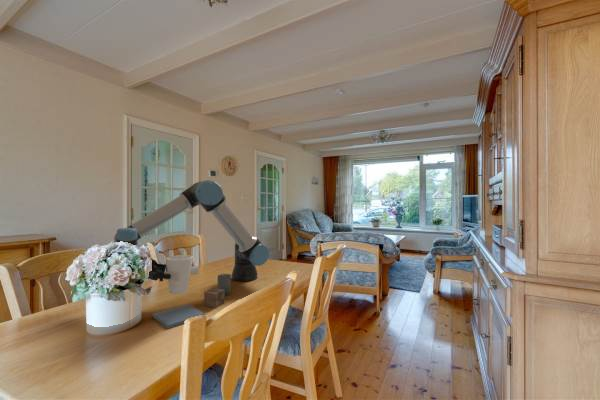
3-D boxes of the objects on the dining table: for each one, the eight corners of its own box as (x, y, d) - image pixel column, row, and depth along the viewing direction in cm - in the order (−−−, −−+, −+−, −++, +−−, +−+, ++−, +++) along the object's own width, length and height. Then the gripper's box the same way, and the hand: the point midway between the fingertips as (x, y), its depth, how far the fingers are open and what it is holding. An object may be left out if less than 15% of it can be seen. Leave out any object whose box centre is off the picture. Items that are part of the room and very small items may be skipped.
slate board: (188, 307, 115) (188, 304, 115) (204, 316, 105) (204, 313, 105) (152, 316, 104) (152, 313, 104) (167, 328, 95) (167, 325, 95)
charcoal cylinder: (226, 291, 136) (226, 273, 136) (232, 294, 131) (232, 275, 131) (215, 294, 131) (215, 275, 131) (221, 297, 127) (221, 277, 127)
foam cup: (183, 286, 111) (184, 254, 111) (196, 290, 106) (197, 257, 106) (160, 291, 103) (161, 257, 104) (173, 297, 98) (174, 261, 98)
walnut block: (212, 301, 122) (213, 288, 122) (224, 303, 120) (224, 289, 120) (204, 306, 116) (204, 292, 116) (215, 308, 114) (216, 294, 114)
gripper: (164, 271, 121) (207, 276, 114) (117, 284, 100) (165, 292, 93) (165, 254, 121) (207, 258, 114) (118, 264, 100) (166, 270, 93)
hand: (188, 273), depth 103 cm, fingers closed on foam cup, 9 cm apart
